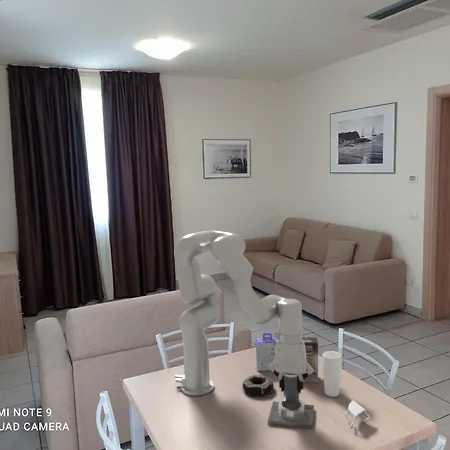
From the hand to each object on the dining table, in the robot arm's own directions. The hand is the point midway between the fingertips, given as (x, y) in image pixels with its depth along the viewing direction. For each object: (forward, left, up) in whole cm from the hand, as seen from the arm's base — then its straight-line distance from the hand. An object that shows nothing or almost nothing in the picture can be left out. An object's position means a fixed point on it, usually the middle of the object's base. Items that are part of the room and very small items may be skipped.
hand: (291, 389), depth 142 cm
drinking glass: (+13, +18, -10) cm, 24 cm away
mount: (0, 0, -9) cm, 9 cm away
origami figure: (+21, +2, -10) cm, 23 cm away
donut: (-14, +16, -10) cm, 23 cm away
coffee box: (+3, +28, -10) cm, 30 cm away
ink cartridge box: (-13, +35, -10) cm, 39 cm away
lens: (0, 0, -3) cm, 3 cm away
